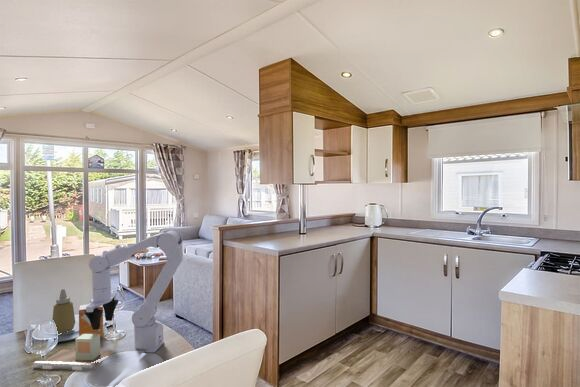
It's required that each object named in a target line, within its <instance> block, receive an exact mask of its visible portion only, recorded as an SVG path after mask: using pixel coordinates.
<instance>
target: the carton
mask: <svg viewBox="0 0 580 387" xmlns="http://www.w3.org/2000/svg"><path fill="white" fill-rule="evenodd" d="M74 341H75V349H74V350H76V360H93V359H95V358H96V357H97V356H99V355H100V350H101V337H100V334H82V335H81V336H79V335H78V337H76V338H75V340H74Z"/></svg>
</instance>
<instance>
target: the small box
mask: <svg viewBox="0 0 580 387" xmlns="http://www.w3.org/2000/svg"><path fill="white" fill-rule="evenodd" d="M89 304H90V303H87V304H79V309H78V337H79V336H81V335H82V334H100V338H102V337H104V308H103V305H102V306H100V307H98V309H99V310H103V312H102V315H101V319H100V328H99V329H98V330H93V329H92V326H91V323H90V321H89V319H88V317H87V316H86V315H85V310H86V307H87V306H88V305H89Z"/></svg>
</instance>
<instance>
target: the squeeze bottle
mask: <svg viewBox="0 0 580 387" xmlns="http://www.w3.org/2000/svg"><path fill="white" fill-rule="evenodd" d="M59 294H60V295H59V297H58V298H57V297H56V300H55V302H56V303H55V304H54V305H53V310H52V320H54V322H55V324H56V327H57V331H58V334H60V333H63V334H65V333H64V332H66V333H68V332H67V331H69V332H71V331H70V330H72V329H73V330H74V328H75V324H76V318H75V317H76V316H75V311H74V310H75V309H74V304H73V303H74V302H72V301H71V296H68V295H67V293H66V289H65V288H62V289H61V290H60V292H59ZM52 320H51V321H52Z"/></svg>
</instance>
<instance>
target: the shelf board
mask: <svg viewBox="0 0 580 387" xmlns="http://www.w3.org/2000/svg"><path fill="white" fill-rule="evenodd" d="M114 353H116V350H101V349H100V355H99V356H97V357H96V358H95V359H93V360H76V349H66V348H65V349H61V350H60V351H58V352H56V353H55V354H53V355H51V356H50V357H48V358H47V359H45V360H36V361H34V362H33V369H42V370H53V369H54V370H57V369H58V370H72V371H82V370H84V371H93V370H94V369H96V368H97V367H98V366H99V365H101V364H102V363H103V362H102V361H101V362H100V363H99V362H97V363H96V362H95V363H91V362H94V361H96V360H98V359H101V358H103V357H106V356H109V357H110V356H112V355H113V354H114Z"/></svg>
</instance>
